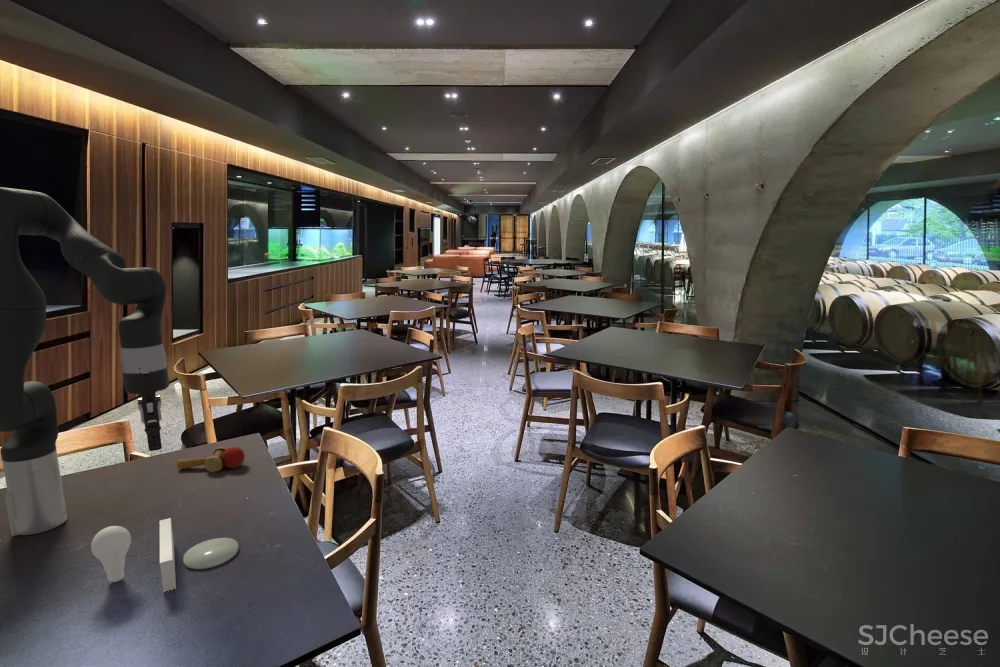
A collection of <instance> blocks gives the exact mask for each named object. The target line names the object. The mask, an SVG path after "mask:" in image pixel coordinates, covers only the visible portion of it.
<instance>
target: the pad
mask: <svg viewBox="0 0 1000 667" xmlns="http://www.w3.org/2000/svg"><path fill="white" fill-rule="evenodd" d="M238 551H239V543H238V541H237V540H236V539H234V538H230V537H218V538H217V537H216V538H212V539H208V540H204V541H202V542H199V543H197V544H195V545H194V546H191V547H190V548H189V549H188V550H187V551H186V552H185V553H184V555H183V565H184V567H186V568H188V569H191V570H205V569H209V568H214V567H217V566H220V565H222V564H224V563H226V562H228V561H230V560H231V559H233V558H234V557H235V556H236V555H237V553H238Z"/></svg>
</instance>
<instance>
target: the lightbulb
mask: <svg viewBox="0 0 1000 667" xmlns="http://www.w3.org/2000/svg"><path fill="white" fill-rule="evenodd" d="M131 543H132V535H131V534H130V531H129V530H128V529H127V528H125V527H124V526H121V525H120V526H119V525H110V526H107V527H104V528H103V529H101V530H99V531H98V532H97V533H96V534H95V535H94V537H93V538H92V540H91V544H90V550H91V553H92V554H93V556H94V557H95V558H96V559H97V560H99V562H101V564H102V566H103V569H104V572H105V573H106V577H107V581H108V582H109V583H118V582H119V581H120V580H122V579H123V578H124V577H125V566H126V562H125V561H126V556H127V555H126V554H127V553H128V551H129V548H130V546H131Z"/></svg>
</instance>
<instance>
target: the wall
mask: <svg viewBox="0 0 1000 667" xmlns="http://www.w3.org/2000/svg"><path fill="white" fill-rule="evenodd" d="M175 556H176V555H175V542H174V534H173V526H172V518H171V517H169V518H166V519H162V520H159V568H160V569H159V570H160V575H161V576H160V577H161V583H162V584H161V585H162V590H163V592H165V593H167V592H166V591H168V592H170V591H169V590H171V591H174V590H173V589H175V590H177V581H176V576H177V575H176V562H175V561H176V558H175Z"/></svg>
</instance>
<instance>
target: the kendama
mask: <svg viewBox="0 0 1000 667" xmlns="http://www.w3.org/2000/svg"><path fill="white" fill-rule="evenodd" d="M244 461H245V453H244V451H243V449H241V448H240V447H237V446H230V447H228V448H227V447H225V446H219V447H217V448H216V449H215V450H214V451H213V455H210V456H207V457H195V458H182V459H178V460H177V462H176V467H177V470H179V471H182V469H183V470H186V469H190V468H196V467H199V466H203V467H204V469H206V471H208V472H210V471H218V472H219V471H220V470H221V469H222V468H223V466H224V467H226V468H228V469H235V468H238V467H240V466H241V465H243V464H244Z"/></svg>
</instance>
